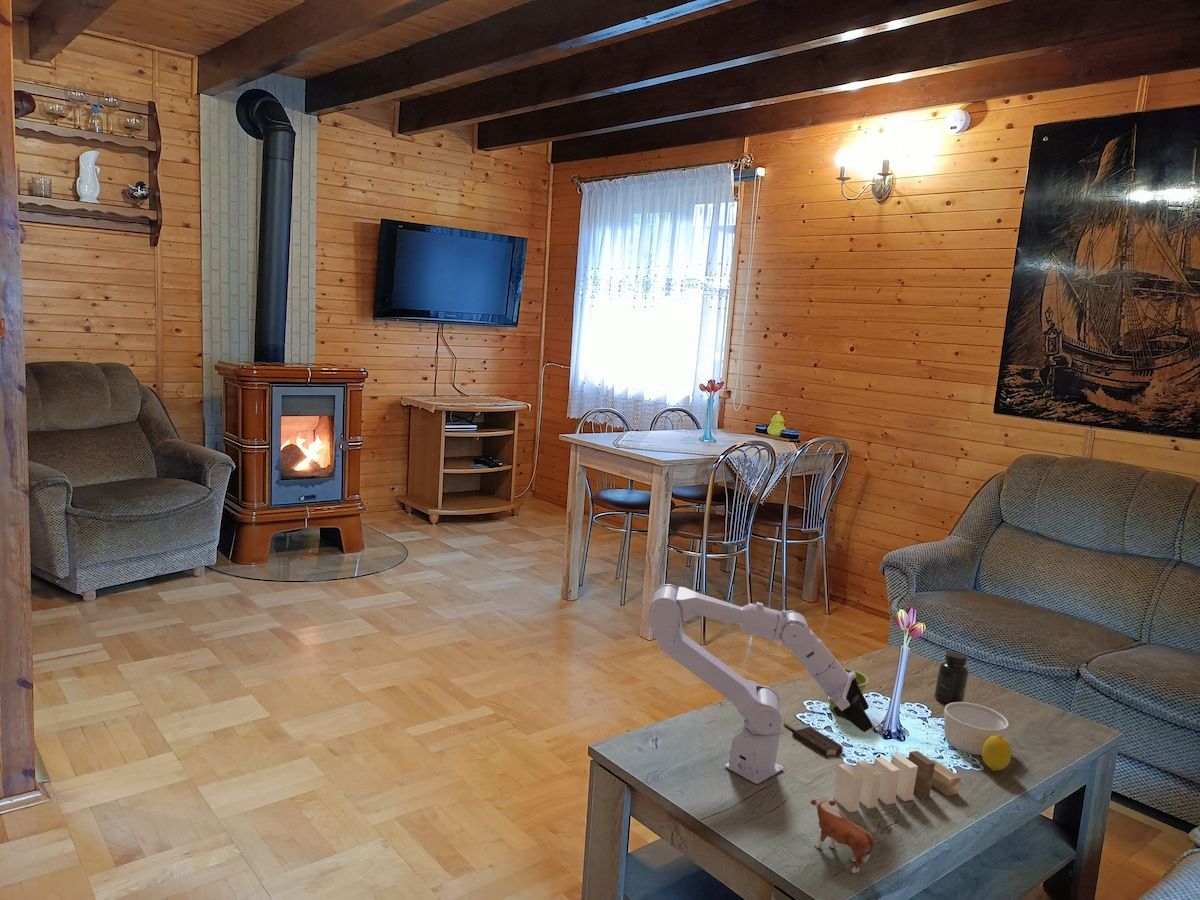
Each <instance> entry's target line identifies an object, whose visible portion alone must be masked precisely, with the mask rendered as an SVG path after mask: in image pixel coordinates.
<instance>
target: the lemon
mask: <svg viewBox="0 0 1200 900" xmlns="http://www.w3.org/2000/svg"><path fill="white" fill-rule="evenodd" d="M981 757H982V760H983V762H984V764H985V765H986V766H987V767H988V768H990V769H991V771H993V772H996V771H1000V770H1003V769H1005V768H1007V767H1008V766H1009V764H1010V761H1011V758H1012V748H1011V745H1010V743H1009V741H1008V740H1007V739H1006V738H1005V737H1004V738H1003V737H1002V736H1001V735H998V736H991V737H989V738H988V739H987V740H986V741H985V743H984V745H983V749H982V756H981Z"/></svg>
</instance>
